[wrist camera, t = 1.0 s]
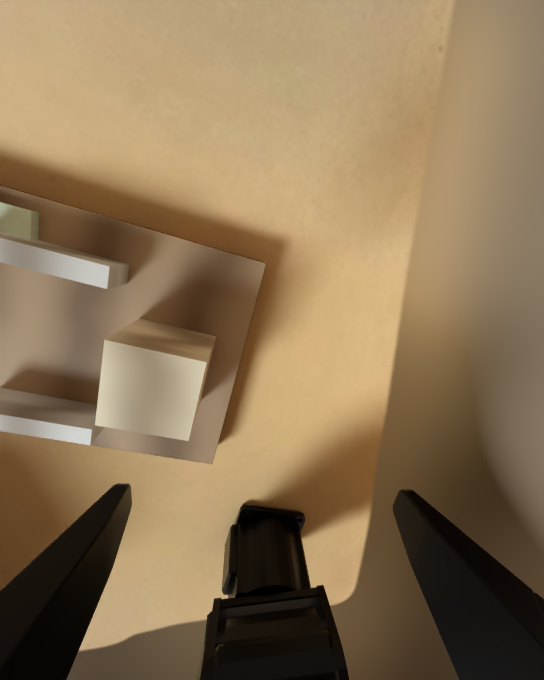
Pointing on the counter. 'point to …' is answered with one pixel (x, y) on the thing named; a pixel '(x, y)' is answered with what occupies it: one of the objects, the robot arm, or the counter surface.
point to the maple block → (153, 379)
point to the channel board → (108, 318)
